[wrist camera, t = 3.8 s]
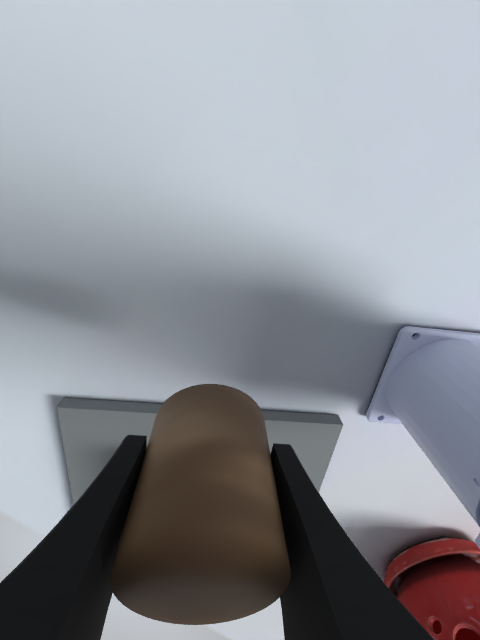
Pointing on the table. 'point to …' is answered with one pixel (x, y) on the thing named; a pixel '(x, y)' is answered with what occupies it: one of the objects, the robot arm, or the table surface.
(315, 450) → the grey base plate
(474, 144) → the table surface
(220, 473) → the walnut cylinder
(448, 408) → the robot arm
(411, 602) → the plant pot
